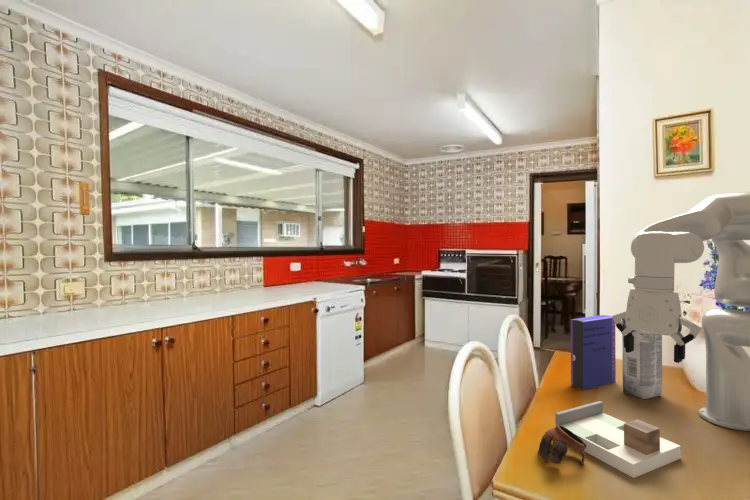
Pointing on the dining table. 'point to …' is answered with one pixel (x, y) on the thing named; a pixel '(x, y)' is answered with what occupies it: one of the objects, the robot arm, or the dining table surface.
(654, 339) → the juice carton
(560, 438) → the brown curved piece
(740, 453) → the dining table surface
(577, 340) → the blue rectangular box
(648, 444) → the block
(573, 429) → the tray
